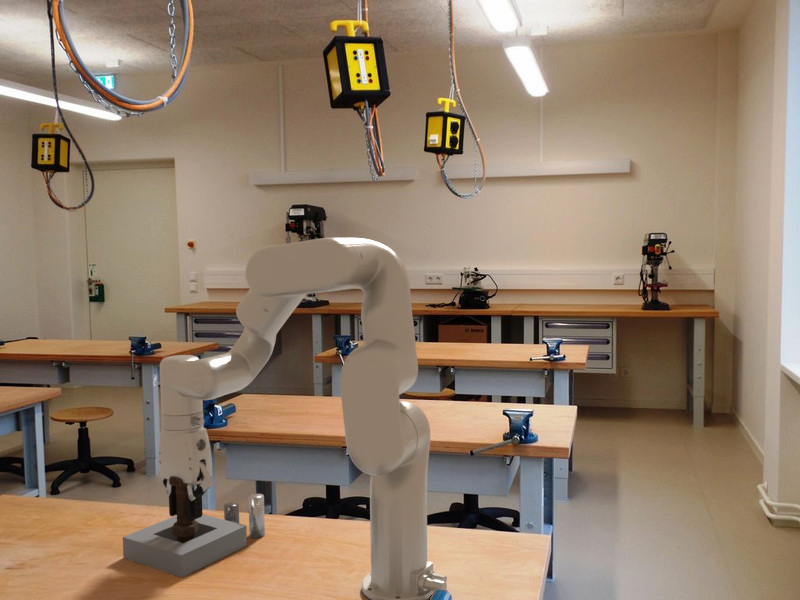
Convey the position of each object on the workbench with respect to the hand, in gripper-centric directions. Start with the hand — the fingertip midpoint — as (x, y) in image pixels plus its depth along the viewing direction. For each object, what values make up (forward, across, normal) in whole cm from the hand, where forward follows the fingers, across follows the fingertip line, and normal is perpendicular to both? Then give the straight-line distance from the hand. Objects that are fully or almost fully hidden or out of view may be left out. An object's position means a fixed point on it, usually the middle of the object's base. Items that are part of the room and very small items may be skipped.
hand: (186, 515), depth 138 cm
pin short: (+7, +1, -13) cm, 15 cm away
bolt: (+7, 0, 0) cm, 7 cm away
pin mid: (+7, -6, -13) cm, 16 cm away
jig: (+7, 0, 0) cm, 7 cm away
